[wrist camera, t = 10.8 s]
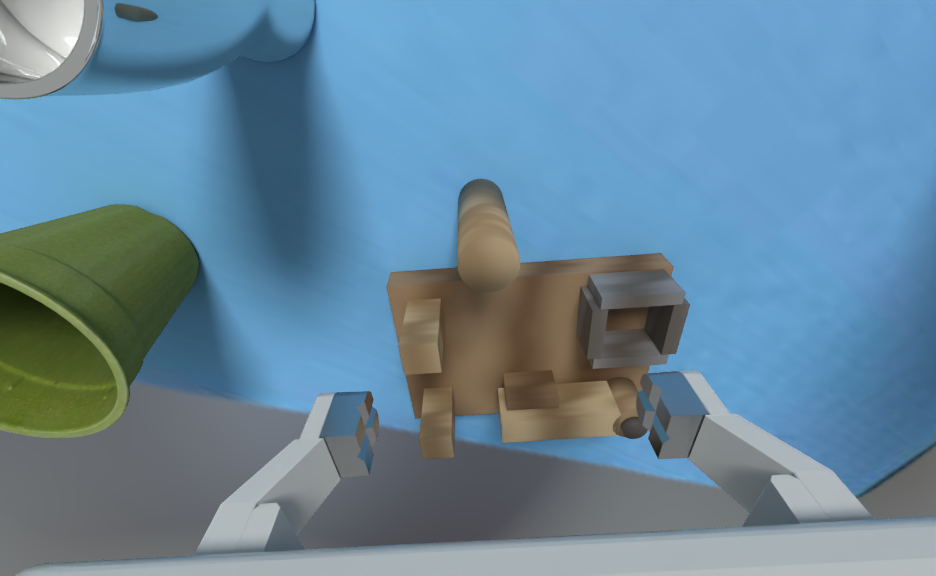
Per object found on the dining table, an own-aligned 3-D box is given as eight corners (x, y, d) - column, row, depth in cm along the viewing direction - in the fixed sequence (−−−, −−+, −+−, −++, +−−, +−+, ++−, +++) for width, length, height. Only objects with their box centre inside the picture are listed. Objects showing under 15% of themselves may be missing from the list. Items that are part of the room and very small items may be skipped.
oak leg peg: (502, 177, 25) (520, 234, 18) (503, 220, 27) (520, 290, 19) (456, 180, 25) (455, 239, 18) (460, 223, 27) (460, 294, 19)
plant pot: (23, 243, 27) (-211, 350, 18) (101, 129, 23) (-144, 188, 14) (182, 342, 32) (65, 467, 23) (268, 261, 28) (171, 372, 19)
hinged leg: (637, 375, 32) (659, 416, 28) (632, 401, 34) (652, 442, 30) (497, 385, 32) (502, 427, 29) (499, 410, 34) (503, 451, 30)
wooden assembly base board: (660, 253, 29) (713, 308, 23) (631, 387, 36) (665, 455, 30) (390, 272, 29) (373, 331, 23) (417, 401, 37) (408, 470, 31)
